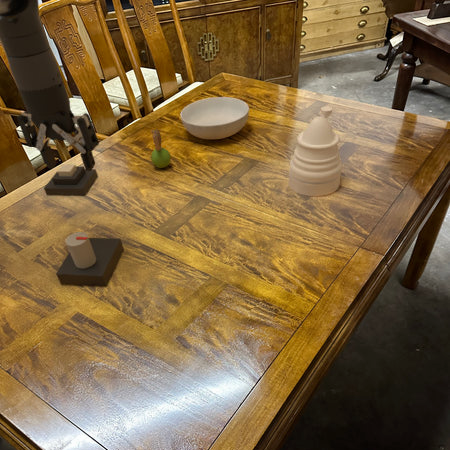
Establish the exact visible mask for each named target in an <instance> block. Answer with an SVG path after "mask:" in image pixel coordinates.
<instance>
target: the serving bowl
mask: <svg viewBox="0 0 450 450" xmlns="http://www.w3.org/2000/svg"><path fill="white" fill-rule="evenodd" d="M249 115H250V106H249V105H248V104H247V103H246V102H245V101H244V100H242V99H239V98H235V97H229V96H215V97H214V96H213V97H207V98H202V99H198V100H196V101H193V102H191V103H189V104H187V105H186V106H184V107H183V109H182V110H181V112H180V115H179V116H180V120H181V123H182V125H183V127H184V128H185V130H186V131H187V132H188V133H189V134H191V136H193V137H196V138H199V139H203V140H220V139H221V140H222V139H225V138H229V137H231V136H233V135H236V134H237V133H239V132H240V131H241V130H242V129H243V128H244V127H245V125H246V123H247V122H248V119H249Z"/></svg>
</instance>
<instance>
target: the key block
mask: <svg viewBox="0 0 450 450" xmlns="http://www.w3.org/2000/svg"><path fill="white" fill-rule="evenodd" d="M76 168H77V171H76V172H75V174H74V175H73V176H72V177H59V174H58V172H57V171H56V172H55V173H54V175H53V176H52V177H51V179H50V180H49V181H47V183H46V185H45V186H44V187H43V190H44V193H45V195H46V196H61V197H63V196H67V197H74V196H75V197H85V196H86V195H87V194H88V192H89V191H90V189H91V188H92V186H93V185H94V184H95V182H96V180H97V179H98V177H99V175H98V171H97V168H93V169H92V170H91V171H86V170H85V167H84V166H76Z"/></svg>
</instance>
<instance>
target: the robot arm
mask: <svg viewBox="0 0 450 450" xmlns="http://www.w3.org/2000/svg"><path fill="white" fill-rule="evenodd" d="M39 6H40V5H39V0H0V43H1V46H2V48H3V51H4V54H5V56H6V59H7V63H8V66H9V70H10V73H11V76H12V77H13V81H14V82H15V85H16V87H17V91H18V92H19V95H20V98H21V99H22V102H23V105H24V107H25V109H26V110H25V111H23V112H22V113H21V114H19V115H18V116H17V117H16V120H17V122H18V125H19V127H20V130H21V133H22V135H23V138H24V140H25V143H26V146H28V147H29V148H32V147H33V148H35V149H36V150H37V151H39V153H40V156H41V158H42V160H43V163H44V164H45V165H46V167H47V168H48V169H53V168H54V167H55V166H56V165H57V159H56V157H55V154H54V152H53V150H52V147H51V146H50V145H49V144H50V141H56V140H58V141H64V142H65V141H66V142H68V144H69V145H70V146H73V147H75V149H77V150H78V151H79V152H80V153H79V155H80V159H81V160H82V163H83V167H84V169H85V170H86V171H91V170H92V169H95V165H96V160H95V157H94V155H93V151H94V150H95V149H96V148H97V146H99V144H100V141H99V139H98V136H97V134H96V133H97V132H96V130H95V128H94V124H93V122H92V118H91V115H89V113H87V112H84V113H83V114H82V115H75V114H74V113H73V111H72V110H71V101H70V98H69V94H68V92H67V89H66V85H65V83H64V80H63V77H62V73H61V70H60V68H59V65H58V64H59V63H58V62H57V59H56V57H55V55H54V53H53V51H52V48H51V45H50V42H49V39H48V37H47V34H46V31H45V27H44V24H43V22H42V19H41V15H40V7H39ZM36 127H37V128H36ZM37 129H38V132H37ZM73 134H74V136H72V135H73Z"/></svg>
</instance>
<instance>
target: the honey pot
mask: <svg viewBox="0 0 450 450" xmlns="http://www.w3.org/2000/svg"><path fill="white" fill-rule="evenodd" d="M332 113H333V107H331V106H322V107H320V114H321V116H316V117H315V118H313V119H312V120H311V121H310V122H309V123H308V124H307V126H306V127H305V129H304V130H303V131H301V132H300V133H299V134H298V135H297V137H296V143H297V146H296V147H294V151H293V155H292V158H291V159H290V162H289V168H288V186H289V188H290V189H291V190H292V191H293V192H294V193H297V194H300V195H302V196H305V197H323V196H328V195H331V194H332V193H334V192H336V191H337V190H338V189H339V188H340V185H341V176H342V170H343V162H342V160H341V159H342V158H341V155H340V149H339V147H338V144H339V143H340V140H341V139H340V135H339V134H338V132H335V131H334V130H333V128H332V126H331V124H330V122H329V121H328V120H327V119H328V118H329V117H330V116H331V115H332Z"/></svg>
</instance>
